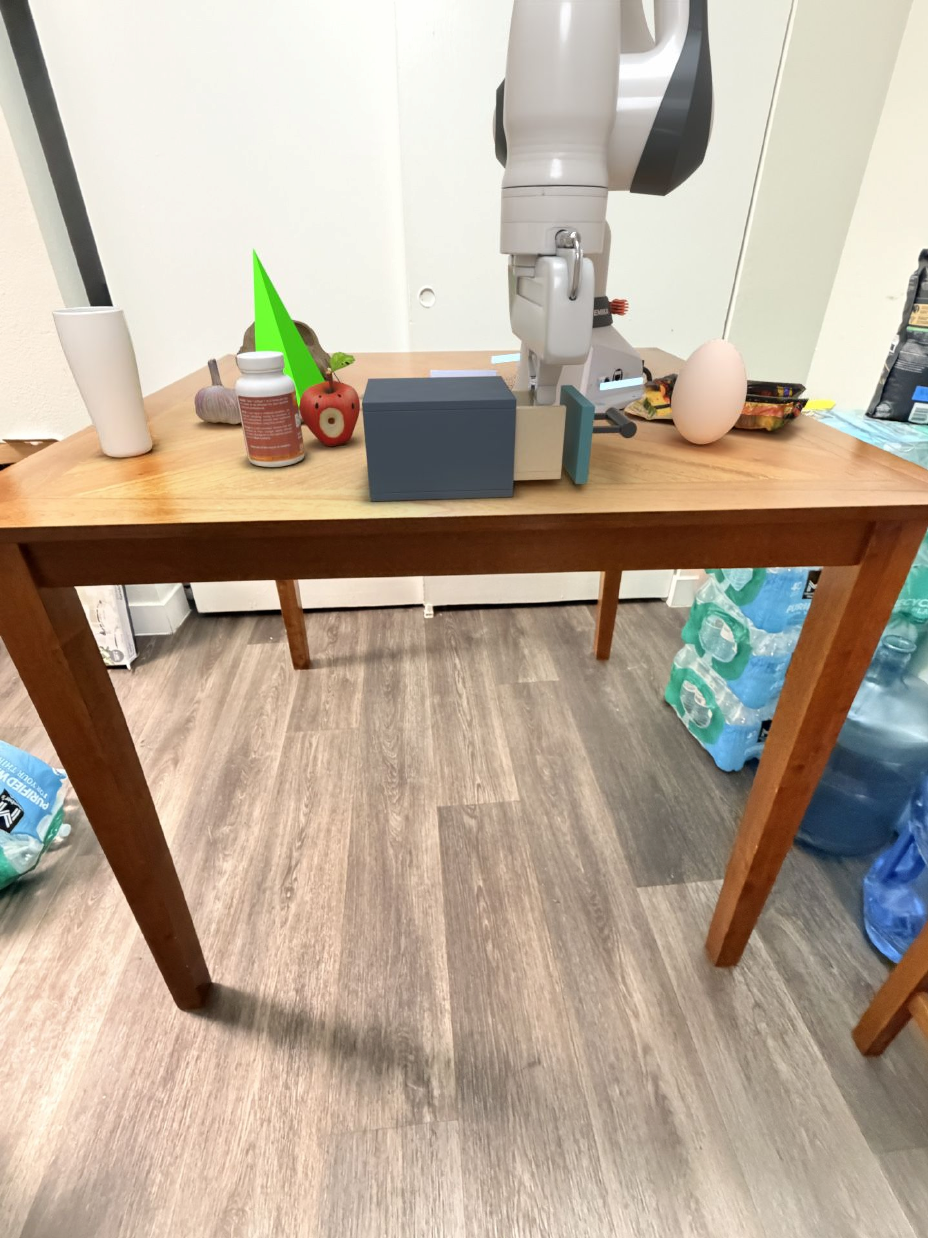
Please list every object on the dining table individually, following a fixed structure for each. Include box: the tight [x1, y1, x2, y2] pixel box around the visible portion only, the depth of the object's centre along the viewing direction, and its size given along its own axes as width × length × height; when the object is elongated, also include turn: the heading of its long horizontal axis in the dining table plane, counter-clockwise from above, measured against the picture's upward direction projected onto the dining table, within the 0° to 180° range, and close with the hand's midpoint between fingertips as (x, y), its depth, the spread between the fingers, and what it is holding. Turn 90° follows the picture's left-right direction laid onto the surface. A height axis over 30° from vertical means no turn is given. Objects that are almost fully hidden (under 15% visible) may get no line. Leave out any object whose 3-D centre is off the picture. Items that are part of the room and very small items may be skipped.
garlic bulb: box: [194, 357, 241, 425], centre depth 81 cm, size 8×7×8 cm
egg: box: [671, 338, 748, 445], centre depth 71 cm, size 8×8×11 cm
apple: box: [299, 351, 361, 447], centre depth 73 cm, size 8×7×10 cm
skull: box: [234, 319, 332, 381], centre depth 101 cm, size 17×18×14 cm
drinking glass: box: [51, 305, 153, 458], centre depth 69 cm, size 7×7×15 cm
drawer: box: [510, 385, 638, 485], centre depth 62 cm, size 17×9×7 cm, turn 94°
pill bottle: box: [234, 351, 306, 468], centre depth 67 cm, size 6×6×11 cm
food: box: [624, 373, 810, 432], centre depth 84 cm, size 22×19×4 cm
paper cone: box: [252, 248, 325, 423], centre depth 85 cm, size 11×5×25 cm
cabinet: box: [361, 375, 517, 502], centre depth 62 cm, size 14×11×9 cm
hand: (541, 399), depth 60 cm, fingers closed
